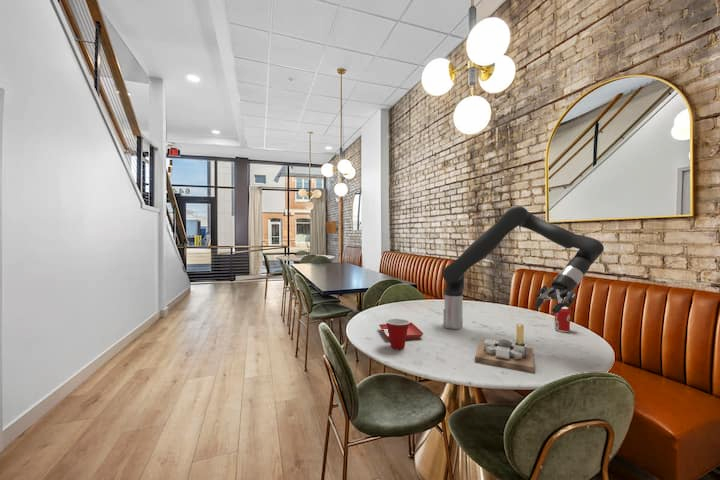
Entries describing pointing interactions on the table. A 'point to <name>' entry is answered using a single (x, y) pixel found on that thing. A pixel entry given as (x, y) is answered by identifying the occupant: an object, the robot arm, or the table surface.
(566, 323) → the beverage can
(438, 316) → the table surface
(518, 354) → the ring nut
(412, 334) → the plant saucer
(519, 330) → the brass pin
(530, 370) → the walnut base
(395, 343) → the plastic cup
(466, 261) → the robot arm
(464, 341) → the table surface
